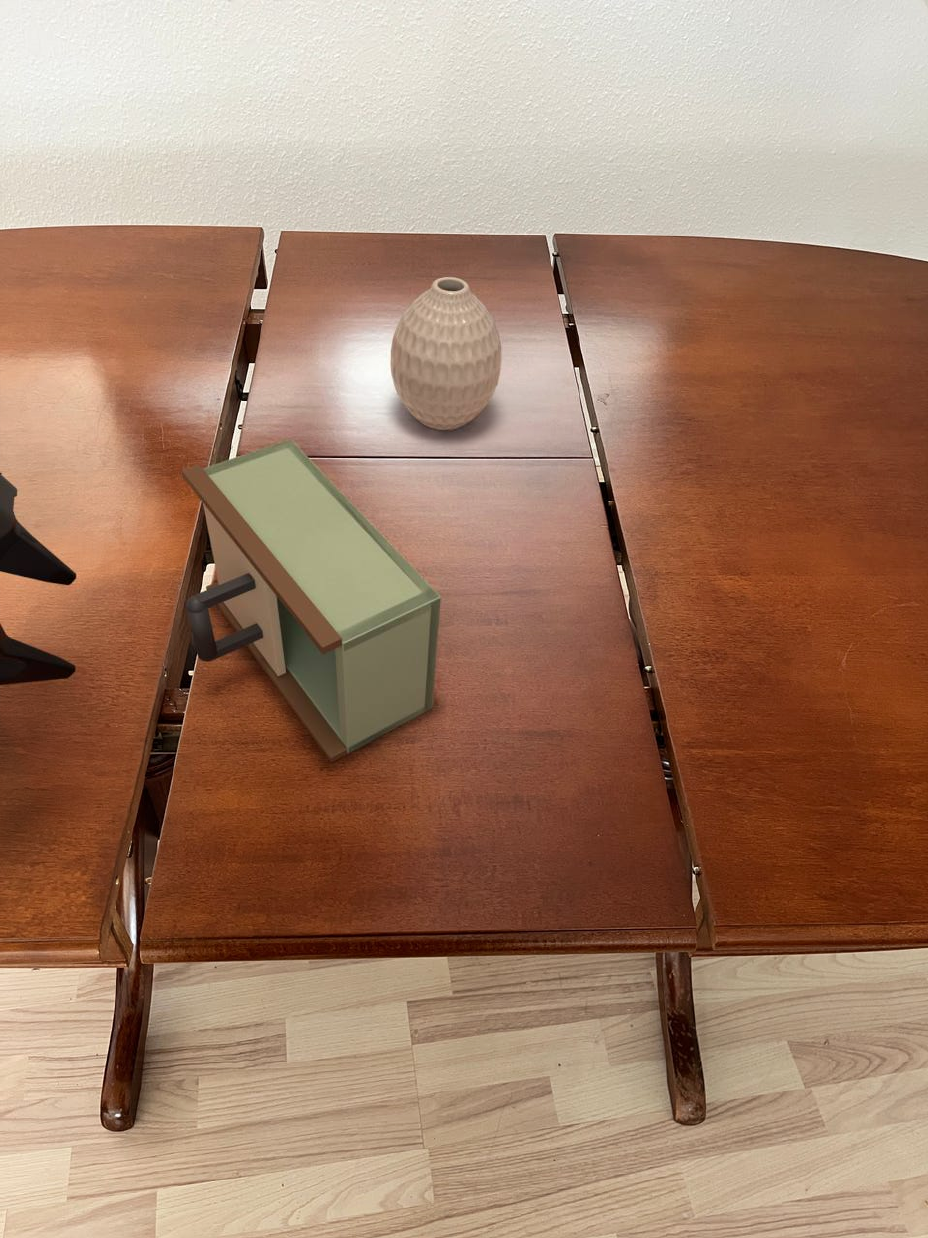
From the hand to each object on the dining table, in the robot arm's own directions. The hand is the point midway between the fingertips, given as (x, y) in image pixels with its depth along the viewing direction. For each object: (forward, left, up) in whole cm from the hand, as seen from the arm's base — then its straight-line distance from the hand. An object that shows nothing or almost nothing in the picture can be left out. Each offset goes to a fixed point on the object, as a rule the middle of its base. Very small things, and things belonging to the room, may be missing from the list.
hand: (73, 624), depth 62 cm
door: (+11, +2, -11) cm, 16 cm away
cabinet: (+19, -2, -12) cm, 22 cm away
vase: (+50, +22, -13) cm, 56 cm away
